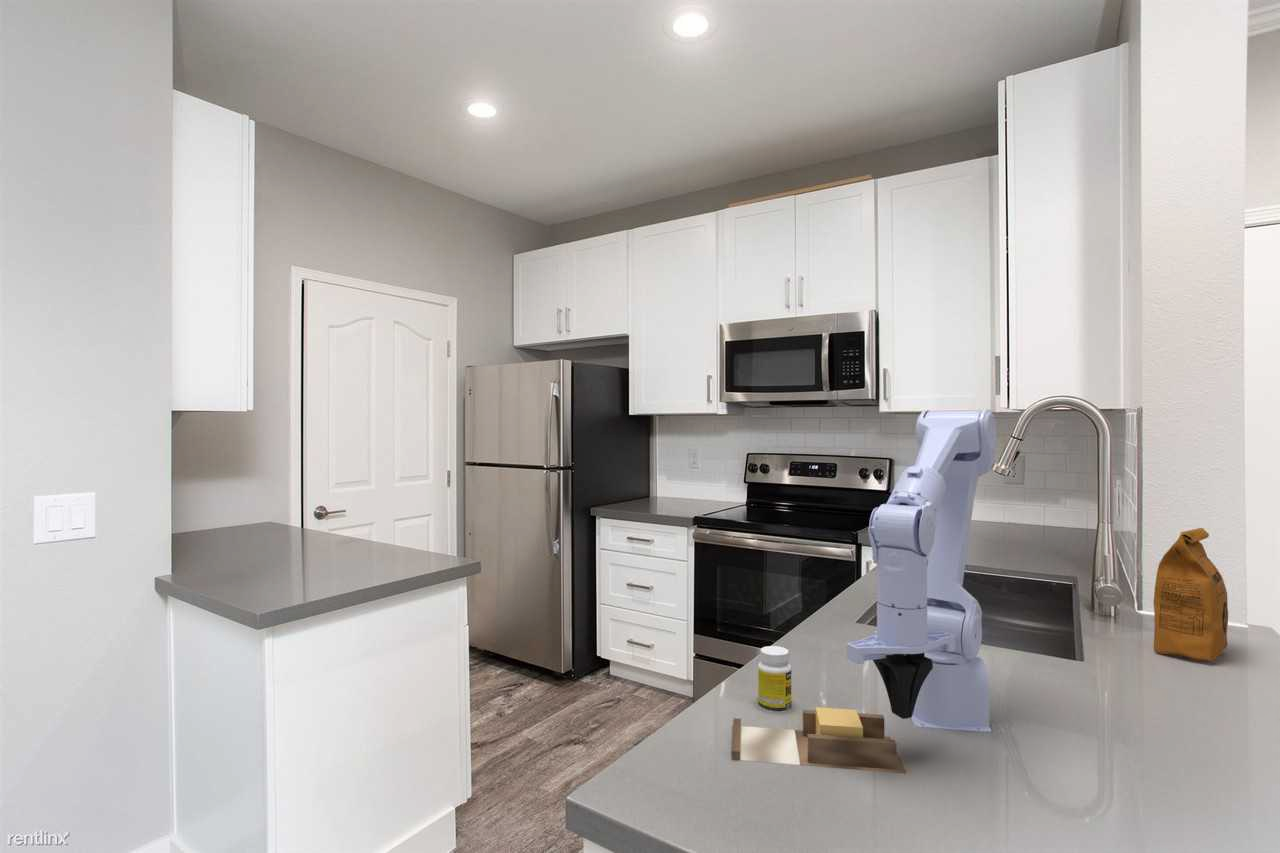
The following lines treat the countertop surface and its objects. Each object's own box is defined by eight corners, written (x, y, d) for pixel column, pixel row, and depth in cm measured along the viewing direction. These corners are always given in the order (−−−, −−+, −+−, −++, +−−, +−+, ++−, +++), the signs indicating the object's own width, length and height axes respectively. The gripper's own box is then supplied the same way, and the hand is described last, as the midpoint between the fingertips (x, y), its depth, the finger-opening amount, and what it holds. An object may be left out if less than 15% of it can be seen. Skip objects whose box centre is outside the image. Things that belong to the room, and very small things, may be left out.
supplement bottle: (792, 717, 91) (791, 657, 91) (757, 714, 92) (757, 654, 92) (791, 703, 96) (790, 645, 96) (758, 700, 97) (758, 643, 97)
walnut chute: (890, 740, 84) (889, 713, 84) (906, 777, 76) (906, 747, 76) (733, 729, 88) (733, 703, 88) (731, 763, 79) (731, 734, 79)
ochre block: (856, 741, 83) (856, 709, 83) (863, 761, 78) (863, 727, 78) (815, 738, 84) (815, 707, 84) (820, 757, 79) (819, 724, 79)
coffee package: (1239, 654, 116) (1239, 530, 116) (1215, 669, 109) (1214, 537, 109) (1170, 639, 124) (1170, 523, 124) (1143, 652, 117) (1143, 529, 117)
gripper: (925, 590, 86) (925, 694, 86) (831, 599, 81) (831, 709, 81) (968, 604, 79) (968, 716, 79) (868, 615, 75) (868, 734, 75)
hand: (901, 714), depth 80 cm, fingers closed
